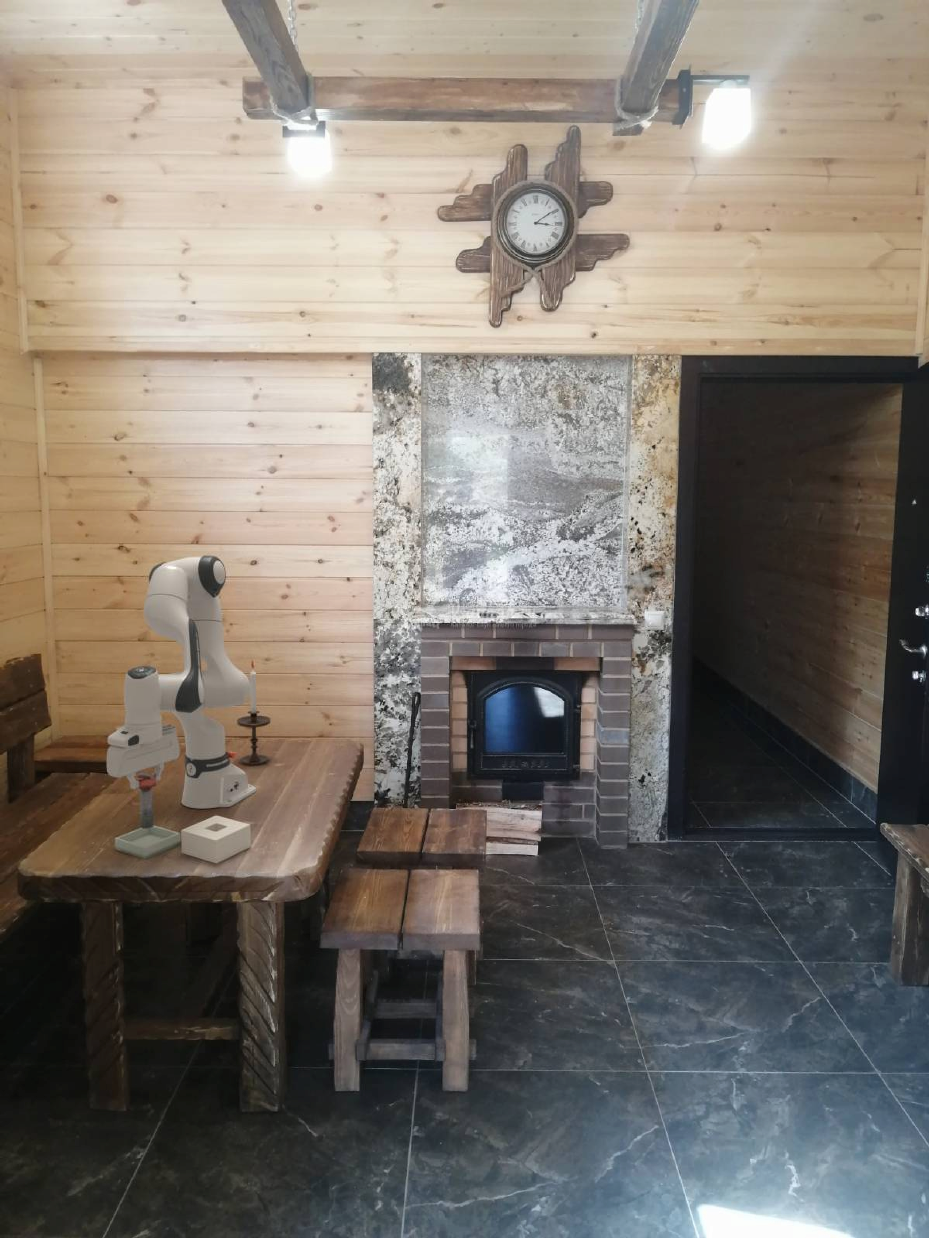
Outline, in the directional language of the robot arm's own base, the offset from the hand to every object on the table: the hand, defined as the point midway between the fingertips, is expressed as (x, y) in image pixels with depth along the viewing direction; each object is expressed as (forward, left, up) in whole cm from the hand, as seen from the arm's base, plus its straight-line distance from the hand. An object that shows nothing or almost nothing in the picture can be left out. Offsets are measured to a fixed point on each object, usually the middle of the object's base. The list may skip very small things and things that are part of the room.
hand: (145, 784), depth 225 cm
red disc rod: (0, 0, -11) cm, 11 cm away
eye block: (-8, +16, -17) cm, 24 cm away
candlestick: (-67, -26, -17) cm, 74 cm away
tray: (0, 0, -17) cm, 17 cm away
